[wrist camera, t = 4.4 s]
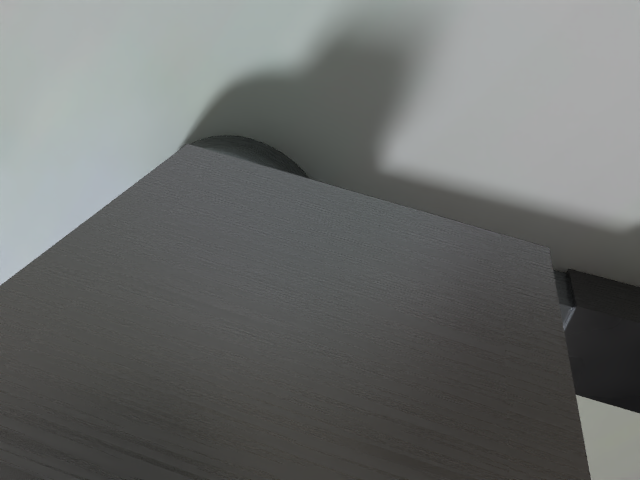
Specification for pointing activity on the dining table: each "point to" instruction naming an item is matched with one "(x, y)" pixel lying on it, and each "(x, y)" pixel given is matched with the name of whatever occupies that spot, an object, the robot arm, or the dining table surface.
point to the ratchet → (574, 300)
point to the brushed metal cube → (283, 340)
